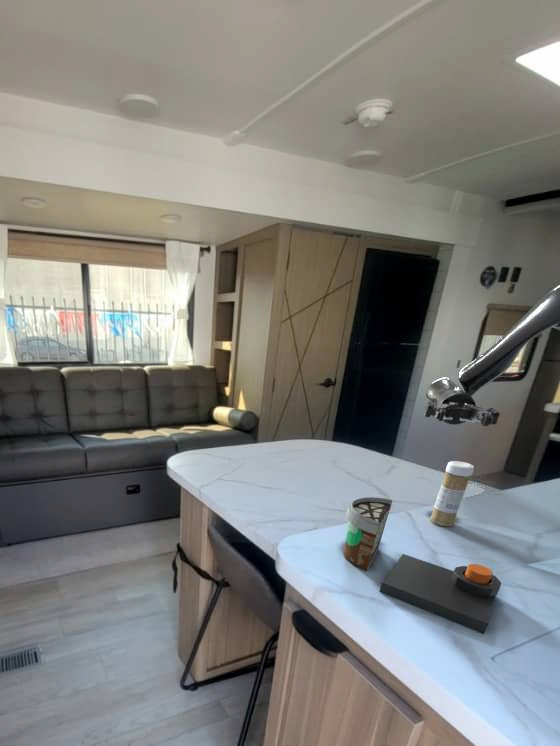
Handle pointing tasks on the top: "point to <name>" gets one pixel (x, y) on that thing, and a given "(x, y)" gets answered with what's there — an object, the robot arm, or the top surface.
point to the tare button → (478, 573)
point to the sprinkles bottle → (451, 493)
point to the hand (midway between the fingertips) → (464, 419)
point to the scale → (442, 591)
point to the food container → (365, 529)
